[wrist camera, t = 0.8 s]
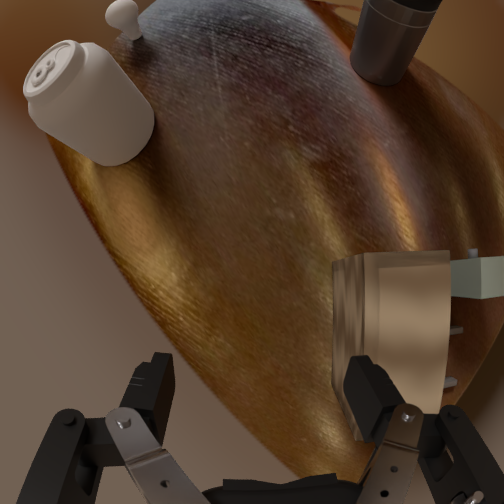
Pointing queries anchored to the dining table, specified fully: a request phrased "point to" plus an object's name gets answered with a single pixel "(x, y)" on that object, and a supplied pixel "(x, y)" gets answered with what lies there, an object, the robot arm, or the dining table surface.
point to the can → (88, 103)
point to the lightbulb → (124, 17)
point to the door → (477, 276)
